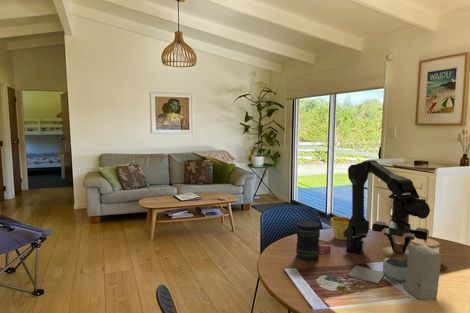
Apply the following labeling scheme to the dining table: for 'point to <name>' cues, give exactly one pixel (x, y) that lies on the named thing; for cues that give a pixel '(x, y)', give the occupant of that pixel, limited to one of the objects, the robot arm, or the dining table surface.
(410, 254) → the skincare box
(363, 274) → the grey flat square slab
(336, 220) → the plant pot
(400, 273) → the bowl
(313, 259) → the storage jar
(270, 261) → the dining table surface
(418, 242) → the lidded jar
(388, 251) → the lid
